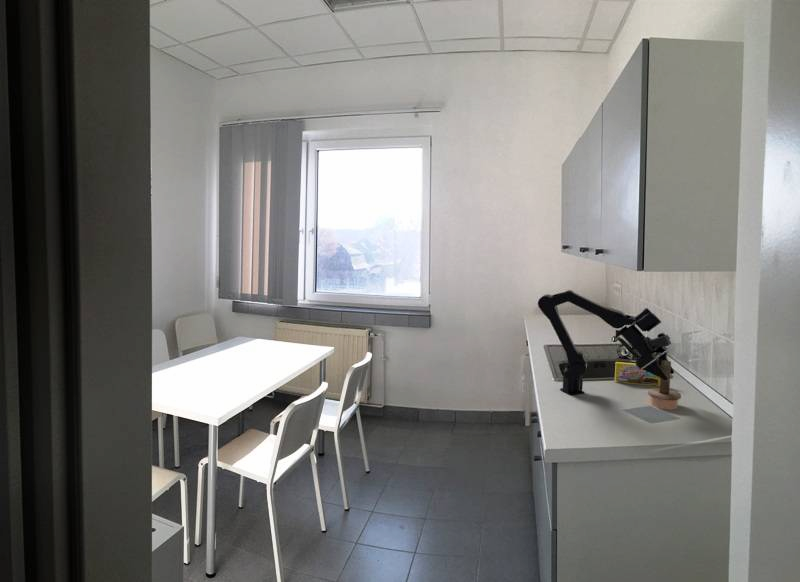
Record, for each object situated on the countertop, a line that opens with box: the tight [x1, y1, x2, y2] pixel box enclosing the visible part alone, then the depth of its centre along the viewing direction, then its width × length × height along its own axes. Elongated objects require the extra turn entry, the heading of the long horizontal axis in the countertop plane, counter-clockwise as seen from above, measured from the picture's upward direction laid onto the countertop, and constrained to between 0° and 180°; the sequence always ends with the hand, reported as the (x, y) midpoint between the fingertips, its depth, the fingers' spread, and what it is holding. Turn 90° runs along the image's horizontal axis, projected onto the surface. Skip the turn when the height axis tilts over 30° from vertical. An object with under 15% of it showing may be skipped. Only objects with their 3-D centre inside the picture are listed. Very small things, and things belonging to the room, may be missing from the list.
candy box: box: [614, 361, 660, 387], centre depth 185 cm, size 16×2×8 cm, turn 71°
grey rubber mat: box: [622, 405, 681, 424], centre depth 152 cm, size 12×12×1 cm
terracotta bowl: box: [649, 396, 679, 411], centre depth 160 cm, size 8×8×4 cm
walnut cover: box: [647, 360, 682, 401], centre depth 159 cm, size 10×10×12 cm
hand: (670, 376), depth 158 cm, fingers open, 9 cm apart
